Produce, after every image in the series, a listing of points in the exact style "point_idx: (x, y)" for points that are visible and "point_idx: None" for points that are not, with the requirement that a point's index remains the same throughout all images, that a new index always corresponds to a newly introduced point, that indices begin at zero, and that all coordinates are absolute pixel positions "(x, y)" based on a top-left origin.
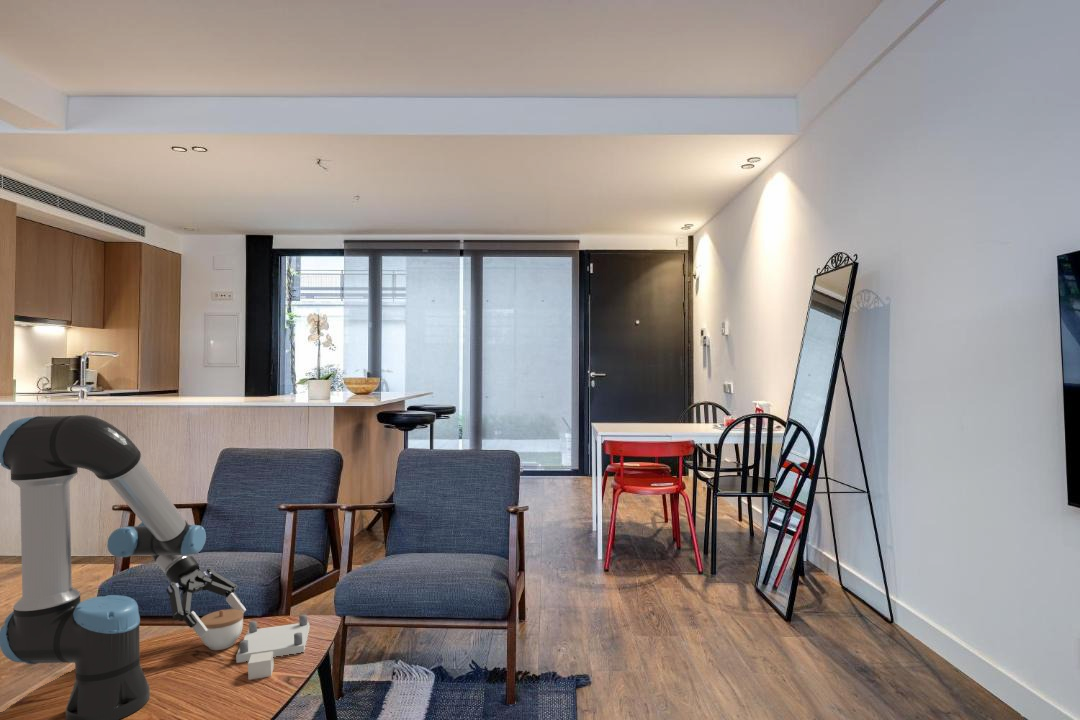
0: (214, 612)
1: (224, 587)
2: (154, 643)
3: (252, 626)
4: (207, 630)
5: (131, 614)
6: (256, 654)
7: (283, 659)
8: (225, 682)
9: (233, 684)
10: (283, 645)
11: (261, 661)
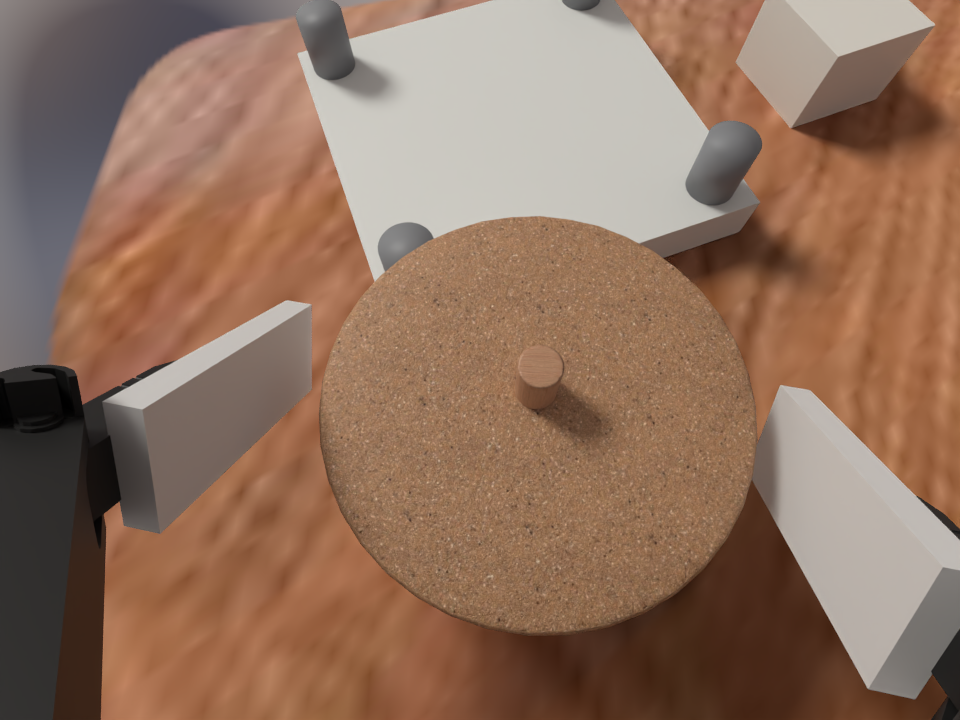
0: (425, 547)
1: (27, 508)
2: None
3: None
4: (787, 389)
5: None
6: (830, 35)
7: (659, 57)
8: (933, 175)
9: (935, 134)
10: (605, 45)
11: None
